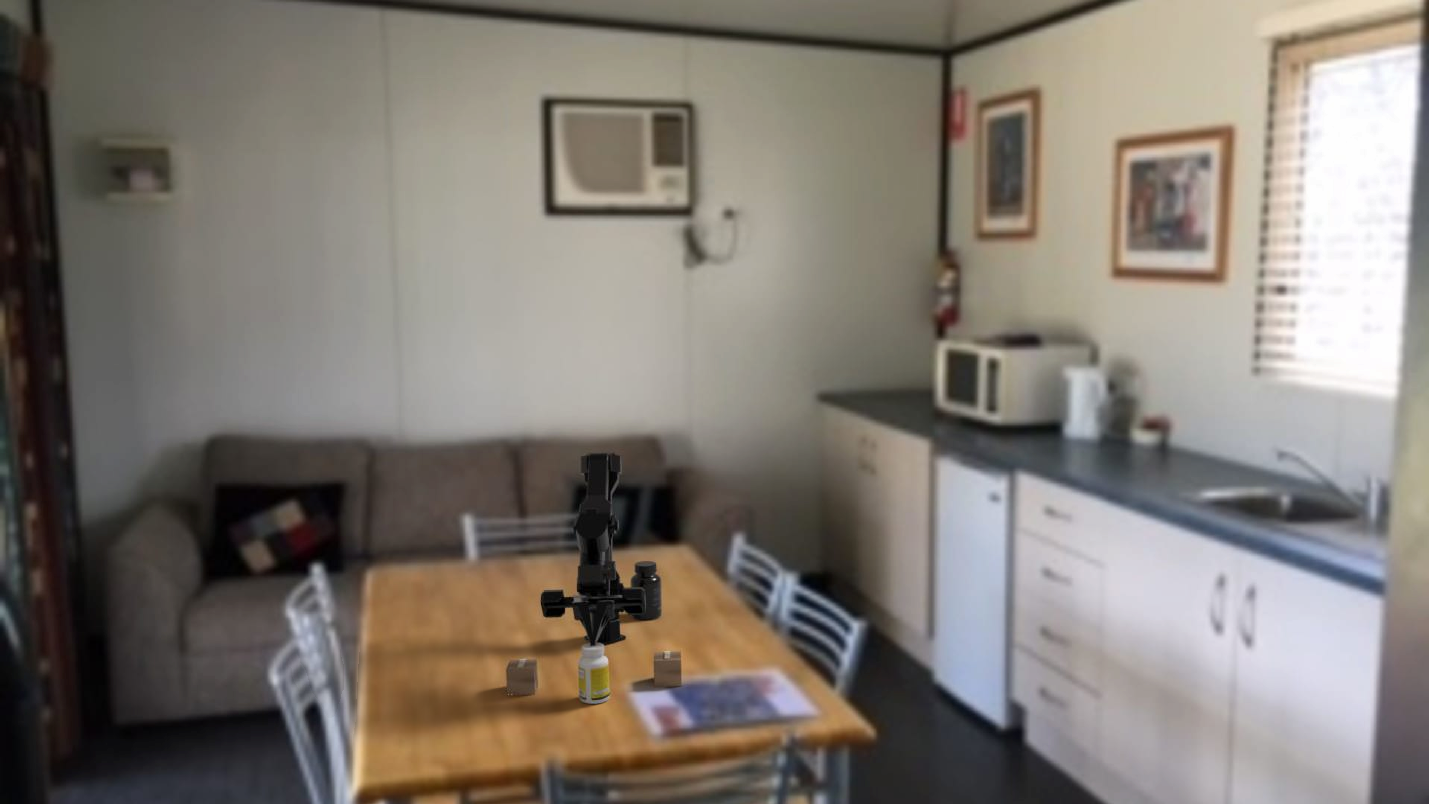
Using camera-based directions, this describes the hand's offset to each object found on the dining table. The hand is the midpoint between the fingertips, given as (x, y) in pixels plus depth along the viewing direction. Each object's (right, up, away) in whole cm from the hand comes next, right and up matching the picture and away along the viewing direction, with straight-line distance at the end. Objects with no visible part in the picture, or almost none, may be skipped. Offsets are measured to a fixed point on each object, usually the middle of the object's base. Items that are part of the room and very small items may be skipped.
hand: (592, 644), depth 204 cm
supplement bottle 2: (+7, -5, +51) cm, 52 cm away
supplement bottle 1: (0, -10, +1) cm, 10 cm away
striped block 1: (-13, -10, +7) cm, 18 cm away
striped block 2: (+13, -9, +10) cm, 18 cm away
